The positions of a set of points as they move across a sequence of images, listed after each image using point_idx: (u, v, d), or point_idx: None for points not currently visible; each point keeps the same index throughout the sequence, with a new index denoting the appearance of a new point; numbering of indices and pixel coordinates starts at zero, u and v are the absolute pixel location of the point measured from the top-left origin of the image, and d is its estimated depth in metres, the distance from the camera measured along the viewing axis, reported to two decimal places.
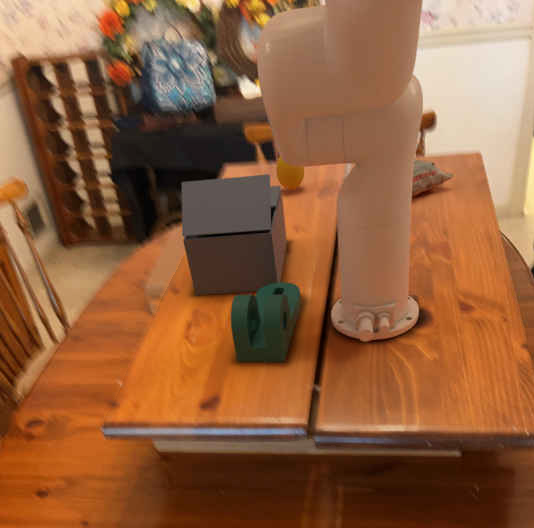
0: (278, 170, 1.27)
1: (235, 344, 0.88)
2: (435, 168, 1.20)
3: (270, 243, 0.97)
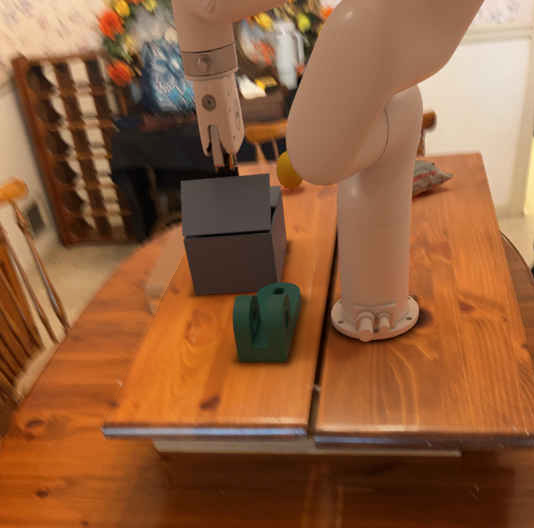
0: (278, 170, 1.27)
1: (237, 344, 0.88)
2: (435, 168, 1.20)
3: (270, 243, 0.97)
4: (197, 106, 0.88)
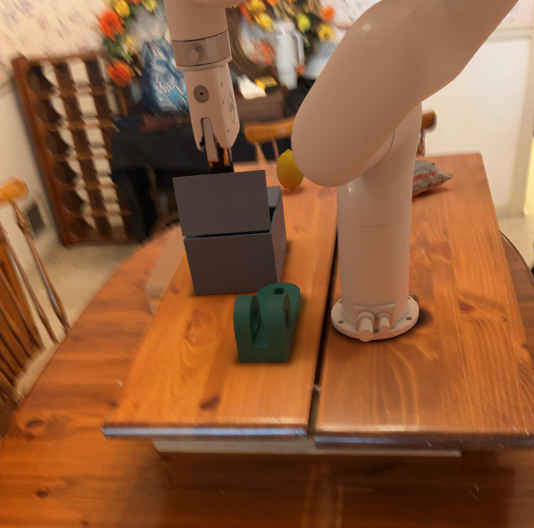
0: (278, 170, 1.27)
1: (237, 344, 0.88)
2: (435, 168, 1.20)
3: (270, 243, 0.97)
4: (189, 98, 0.84)
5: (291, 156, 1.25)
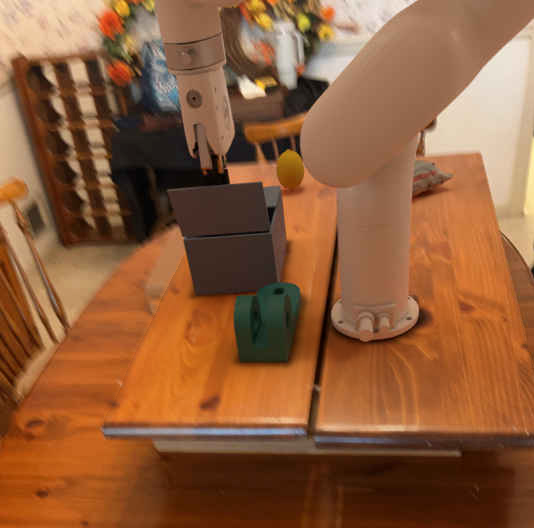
0: (278, 170, 1.27)
1: (238, 344, 0.88)
2: (435, 168, 1.20)
3: (270, 243, 0.97)
4: (181, 103, 0.81)
5: (291, 156, 1.25)
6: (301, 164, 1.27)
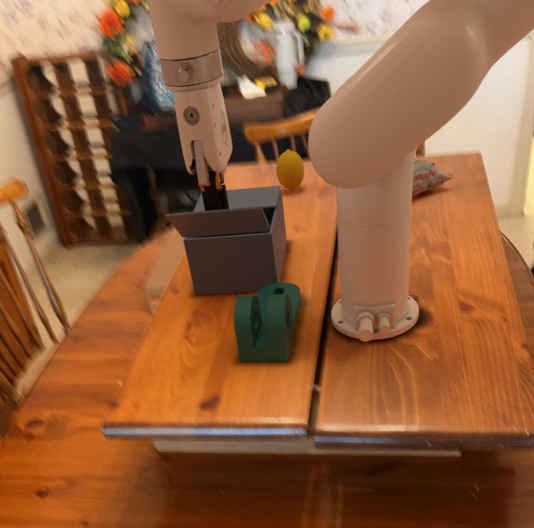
0: (278, 170, 1.27)
1: (238, 344, 0.88)
2: (435, 168, 1.20)
3: (270, 243, 0.97)
4: (178, 120, 0.79)
5: (291, 156, 1.25)
6: (301, 164, 1.27)
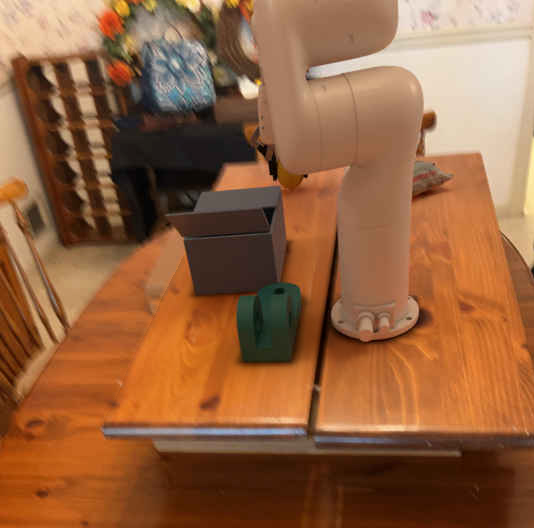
0: (278, 170, 1.27)
1: (241, 345, 0.88)
2: (435, 168, 1.20)
3: (270, 243, 0.97)
4: None
5: None
6: None
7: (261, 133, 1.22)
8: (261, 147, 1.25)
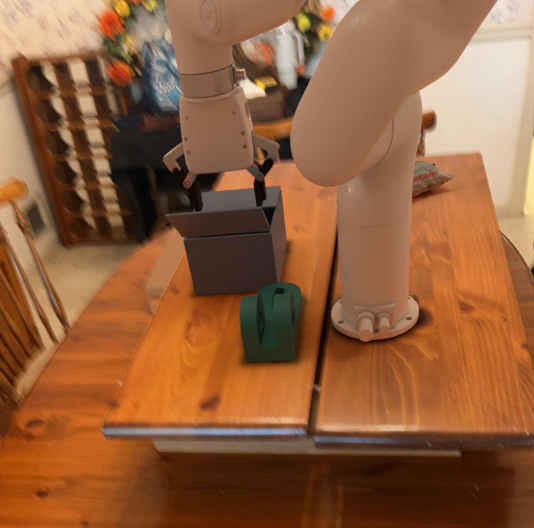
0: None
1: (244, 345, 0.88)
2: (436, 169, 1.20)
3: (270, 243, 0.97)
4: (244, 117, 0.88)
5: None
6: None
7: (187, 159, 0.93)
8: (177, 171, 0.95)
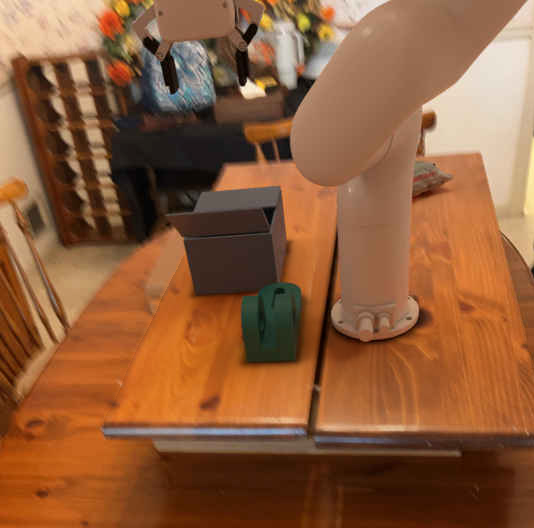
0: None
1: (245, 345, 0.88)
2: (436, 169, 1.20)
3: (270, 243, 0.97)
4: None
5: None
6: None
7: (159, 22, 0.81)
8: (148, 40, 0.84)
